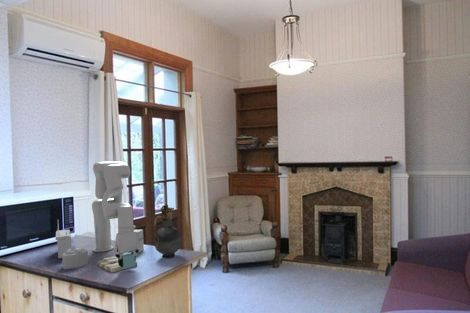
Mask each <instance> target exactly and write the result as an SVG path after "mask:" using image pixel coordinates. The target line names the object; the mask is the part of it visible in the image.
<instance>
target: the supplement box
mask: <svg viewBox="0 0 470 313" xmlns="http://www.w3.org/2000/svg"><path fill="white" fill-rule="evenodd" d="M134 231H135V234H136V239H137V244H138V245H140V246H141V248H140V250H139V251H138V253H137V254H139V253H140V252H142V251H144V248H145V247H144V244H145V243H144V229H134ZM127 253H131V252H127Z"/></svg>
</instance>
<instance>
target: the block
mask: <svg viewBox="0 0 470 313" xmlns="http://www.w3.org/2000/svg"><path fill="white" fill-rule="evenodd" d="M122 259H123V267H121V266H120V267H121V268H123V270H126V269H125V268H127V269H130V268H129V267H131V268H134V267H133V266H135V254H133V253H128V252H126V253H123V256H122ZM135 267H136V266H135Z"/></svg>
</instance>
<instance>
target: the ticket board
mask: <svg viewBox="0 0 470 313" xmlns="http://www.w3.org/2000/svg"><path fill="white" fill-rule="evenodd" d="M97 266H99V267H100V268H103V269H105V270H106V271H108V272H110V273H115V272H118V271H123V270H126V269H131V268H134V267H137V266H138V261H137V260H136V261H135V266H133V267H129V268H125V269H123V268H121V267H120V266H119V264H118V258H117V257H116V256H114V255H112V256H106V257H103V259H101V260H98V261H97Z"/></svg>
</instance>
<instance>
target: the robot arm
mask: <svg viewBox="0 0 470 313" xmlns="http://www.w3.org/2000/svg"><path fill="white" fill-rule="evenodd" d="M92 170H93V173H94V176H95V189H94V192H95V193H94V194H95V198H97V199H95V200H93V202H92V203H91V210H92V215H93V225H94V226H93V227H94V229H93V230H94V245H95V246H94V247H92V252H96V253H103V252H107V251H111V255H112V256H116V257H117V258H118V264H119V266H121V267H123V259H122V256H123V254H126V253H128V252H131V253H133V254H135V261H136V262H137V255H138V254H139V253H138V251H139V250H140V248H141V246H140V245H138V244H137V239H136V234H135V231H134V230H135V229H136V225H134V210H133V208H134V207H133V206H132V205H131V204H130V203H129V202H124V203H123V202H122V201H123V189H124V184H123V179H128V178H130V177H131V168H130V166H129V165H128V163H126V162H124V161H117V160H116V161H98V162H95V163H93V167H92ZM114 219H117V233H116V235H115V242H114V244H115V246H114V245H112V231H111V230H112V229H111V228H112V226H111V220H114Z"/></svg>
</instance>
